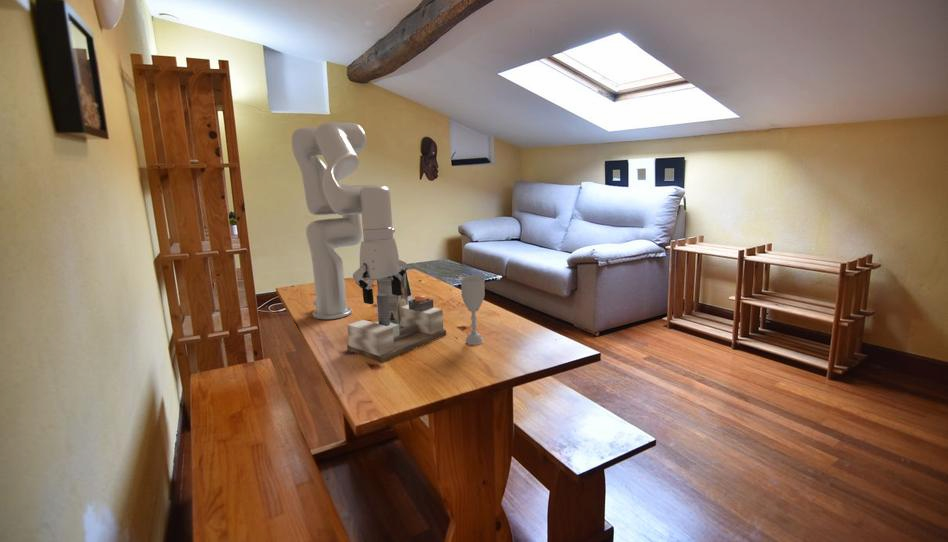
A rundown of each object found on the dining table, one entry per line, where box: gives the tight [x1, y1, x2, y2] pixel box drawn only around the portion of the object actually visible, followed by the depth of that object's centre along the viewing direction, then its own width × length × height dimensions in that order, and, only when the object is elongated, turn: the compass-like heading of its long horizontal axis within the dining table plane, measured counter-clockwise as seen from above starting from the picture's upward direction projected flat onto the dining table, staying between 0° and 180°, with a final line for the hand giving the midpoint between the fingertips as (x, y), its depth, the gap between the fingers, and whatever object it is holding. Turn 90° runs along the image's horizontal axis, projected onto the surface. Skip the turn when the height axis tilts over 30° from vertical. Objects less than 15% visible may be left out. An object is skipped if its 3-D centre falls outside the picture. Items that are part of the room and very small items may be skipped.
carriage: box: [373, 294, 399, 338], centre depth 130 cm, size 7×4×11 cm, turn 51°
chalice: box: [458, 274, 487, 346], centre depth 133 cm, size 7×7×18 cm
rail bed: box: [346, 297, 447, 363], centre depth 135 cm, size 14×24×10 cm, turn 141°
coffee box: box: [376, 269, 409, 326], centre depth 151 cm, size 9×6×16 cm
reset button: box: [414, 294, 427, 303], centre depth 141 cm, size 3×3×2 cm
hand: (383, 299), depth 129 cm, fingers open, 9 cm apart
